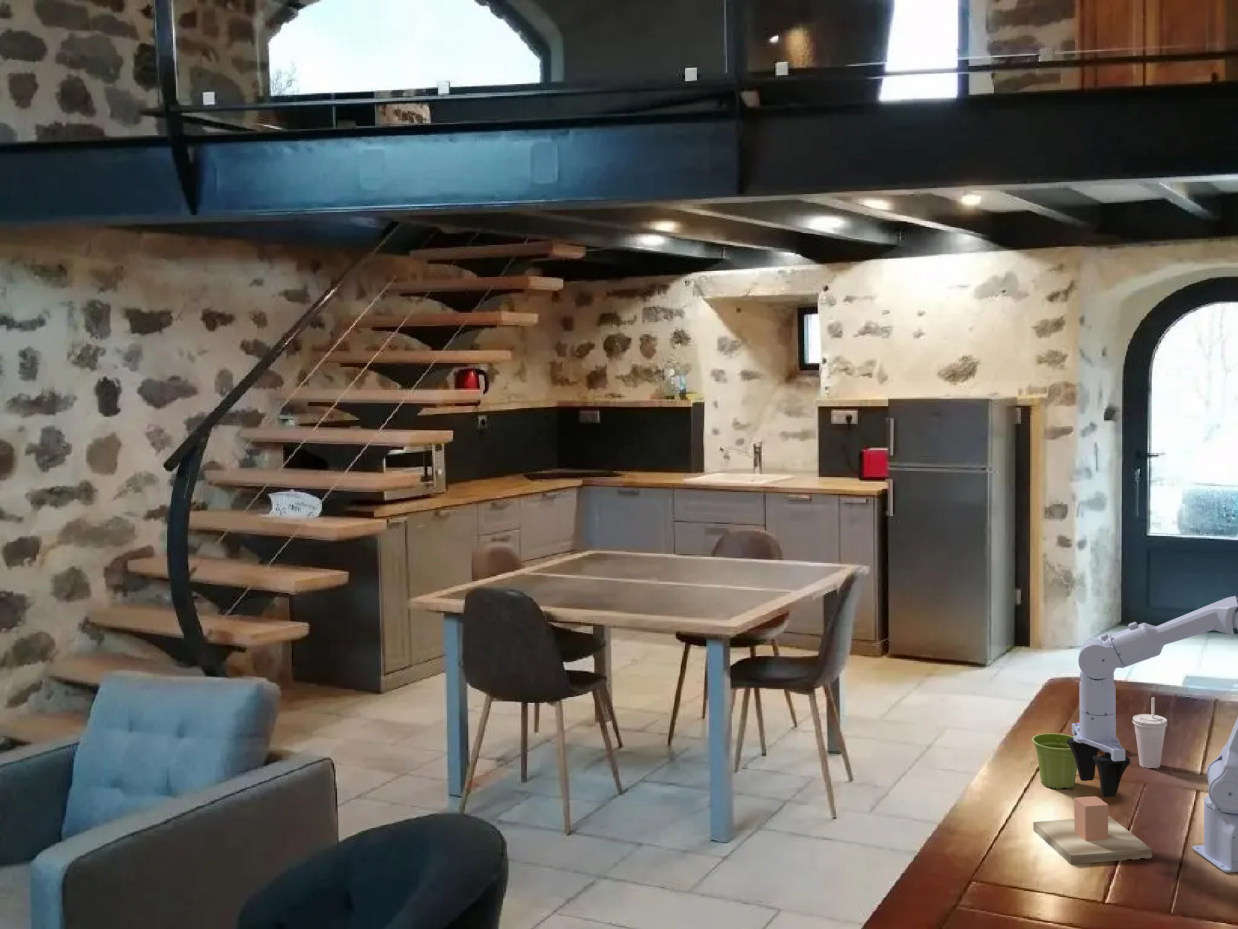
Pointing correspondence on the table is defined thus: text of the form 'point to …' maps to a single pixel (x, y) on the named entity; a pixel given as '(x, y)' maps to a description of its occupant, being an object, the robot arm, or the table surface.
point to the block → (1091, 818)
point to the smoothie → (1150, 737)
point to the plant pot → (1055, 760)
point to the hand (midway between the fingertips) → (1097, 788)
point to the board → (1091, 842)
